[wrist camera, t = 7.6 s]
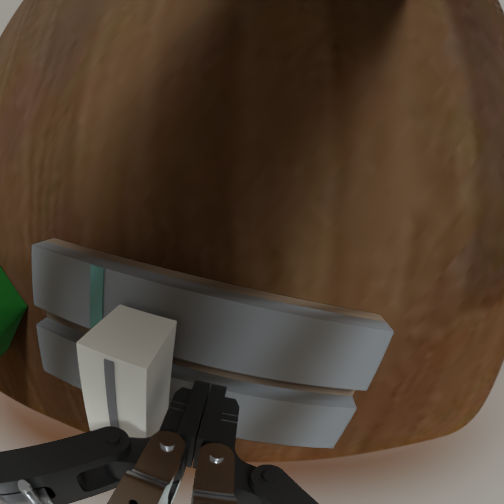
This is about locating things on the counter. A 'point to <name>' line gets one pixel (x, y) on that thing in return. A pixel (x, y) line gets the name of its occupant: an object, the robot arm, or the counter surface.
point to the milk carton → (9, 311)
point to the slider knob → (127, 371)
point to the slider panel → (219, 339)
